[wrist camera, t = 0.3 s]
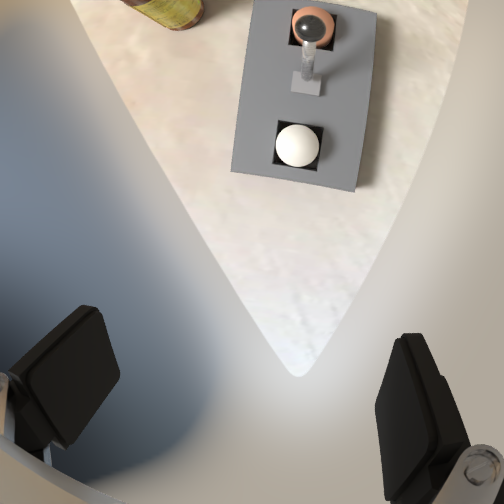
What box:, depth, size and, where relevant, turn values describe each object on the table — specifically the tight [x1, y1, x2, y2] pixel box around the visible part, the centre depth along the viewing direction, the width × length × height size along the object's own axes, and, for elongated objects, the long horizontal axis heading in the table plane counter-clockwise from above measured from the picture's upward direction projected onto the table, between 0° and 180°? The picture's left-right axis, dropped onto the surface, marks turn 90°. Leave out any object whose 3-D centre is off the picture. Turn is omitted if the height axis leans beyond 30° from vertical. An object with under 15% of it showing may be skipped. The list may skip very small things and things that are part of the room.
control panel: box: [231, 0, 377, 193], centre depth 30 cm, size 22×14×4 cm, turn 173°
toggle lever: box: [295, 15, 326, 82], centre depth 23 cm, size 3×3×9 cm
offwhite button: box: [276, 125, 319, 167], centre depth 32 cm, size 4×4×4 cm
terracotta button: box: [292, 6, 334, 49], centre depth 26 cm, size 4×4×4 cm
